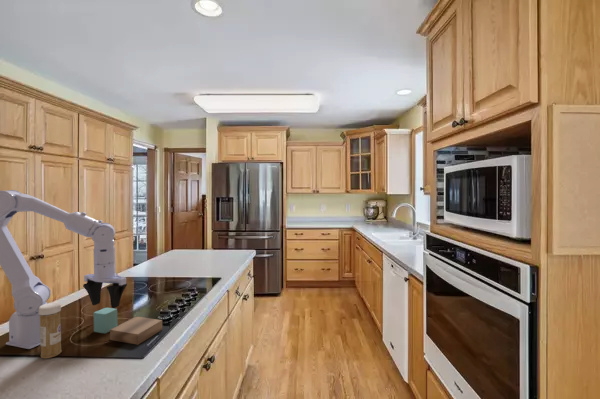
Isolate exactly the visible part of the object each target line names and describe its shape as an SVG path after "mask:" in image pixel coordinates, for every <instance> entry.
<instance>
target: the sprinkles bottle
mask: <svg viewBox="0 0 600 399" xmlns="http://www.w3.org/2000/svg"><path fill="white" fill-rule="evenodd" d="M61 307H62V304H61V303H60V302H47V304H44V305H42V306H40V307H39V314H40V345H39V346H40V358H41V359H51V358H54V357H57V356H58V355H60V354H61V353H62V331H61V329H62V328H61V326H62V325H61V311H62V308H61Z"/></svg>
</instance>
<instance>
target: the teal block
mask: <svg viewBox="0 0 600 399" xmlns="http://www.w3.org/2000/svg"><path fill="white" fill-rule="evenodd" d="M118 325H119V323H118V308H112V307H103V308H101V309H100V310H96V311H94V312H93V332H94V333H99V334H108V333H110V329H112V328H114V327H116V326H118Z"/></svg>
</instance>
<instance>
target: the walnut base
mask: <svg viewBox="0 0 600 399" xmlns="http://www.w3.org/2000/svg"><path fill="white" fill-rule="evenodd" d="M162 331H163V319H155V318H149V317H144V316H134V317H132V318H130V319H129V320H126V321H124V322H122V323H120V324H118V326H116V327H114V328H112V329H110V332H109V340H110V341H115V342H121V343H126V344H130V345H131V344H132V345H138V346H139V345H140V344H142V343H143V342H145V341H146V340H148V339H150V338H151V337H153V336H154V335H156V334H158V333H159V332H162Z"/></svg>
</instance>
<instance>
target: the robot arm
mask: <svg viewBox="0 0 600 399" xmlns="http://www.w3.org/2000/svg"><path fill="white" fill-rule="evenodd" d="M20 212H21V213H23V212H34V213H36V214H39V215H42V216H44V217H47V218H50V219H53V220H55V221H57V222H61V223H63V225H64V227H65V229H66V230H68V231H71V232H73V233H76V234H79V235H81V236H83V237H86V238H87V239H88V238H91V240H92V241H93V249H92V250H93V273H88V274H84V276H83V278H84V279H83V282H86V283H84V284H83V285H82V286H83V289H84V290H85V291H86V292H87V294H88V297H89V299H90V302H91V305H92V306H97V305H99V304H100V303H101V297H102V296H101V293H102V288H103V284H111V285H109V286H106V289H107V291H108V294H109V297H110V306H111V307H110V308H114V309H116V308H117V307H119V306H120V302H121V298H122V295H123V293H124V291H125V289H126V288H127V286H128V283H127V277H124V276H121V275H118V274H119V273H116V247H115V244H116V242H115V239H114V238H115V236H116V230H115V227H114V226H113V225H112V224H110V223H109V222H103V220H102V219H99V220H97V219H95V218H94V217H91V216H89V215H87V214H88V213H87V212H85V211H81V212H79V211H74V212H71V213H70V212H69V211H66V210H64V209H62V208H60V207H57V206H55V205H53V204H51V203H49V202H47V201H46V200H42V199H40V198H38V197H36V196H33V195H31V194H27V193H22V192H20V191H19V190H14V189H8V190H0V267H1V270H2V271H3V273H4V274H5V276H6V278H7V280H8V281H9V283H10V284H11V296H12V297H13V298H12V299H13V300H14V302H13V308H14V310H15V311H14V312H13V313H12V314H11V315H10V317H9V320H8V337H9V338H8V339H9V341H7V342H6V343H5V345H7V346H12V347H16V348H22V349H27V350H31V349H33V348H35V347H37V346H41V345H40V314H39V307H40V306H42V305H44V304H48V302H47V301H48V300H49V299H50V297H51V294H52V293H51V289H50V286H48V285H46V284H44V282H42V280H41V278H39V277H38V276H37V275H35V274H34V273H33V271H32V268H31V267H30V265H29V263H28V262H27V260H26V258H25V257H24V255H23V253H22V251H21V250H20V248H19V246H18V244H17V242H16V240H15V239H14V237H13V235H12V233H11V232H10V230H9V228H8V225H9V223H10V221H11V220H12V218H13V216H15V215H16V214H17V213H20Z"/></svg>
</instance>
